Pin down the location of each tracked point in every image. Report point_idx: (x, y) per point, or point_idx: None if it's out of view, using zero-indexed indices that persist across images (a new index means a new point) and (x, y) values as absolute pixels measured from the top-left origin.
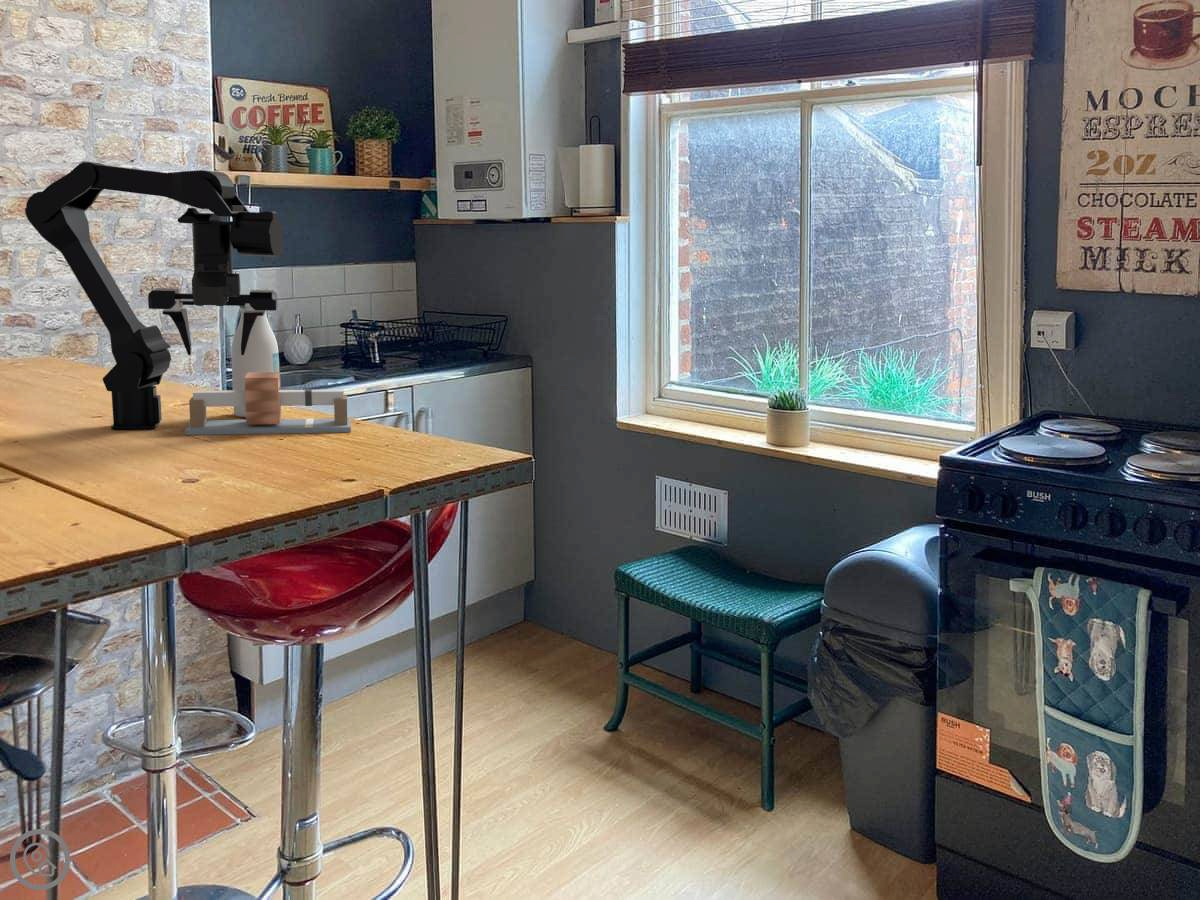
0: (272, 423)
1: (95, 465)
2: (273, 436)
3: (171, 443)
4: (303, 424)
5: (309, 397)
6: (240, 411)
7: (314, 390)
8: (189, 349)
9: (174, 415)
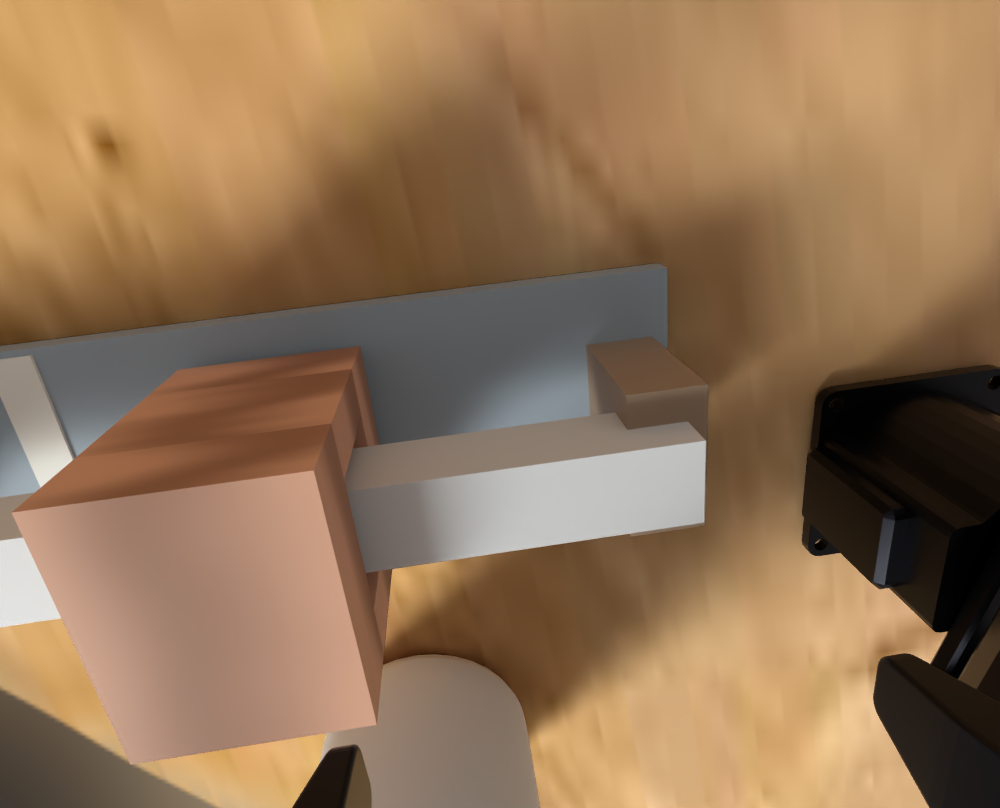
0: (216, 367)
1: None
2: (188, 237)
3: (700, 13)
4: (80, 444)
5: None
6: (483, 679)
7: None
8: (933, 692)
9: (756, 681)
